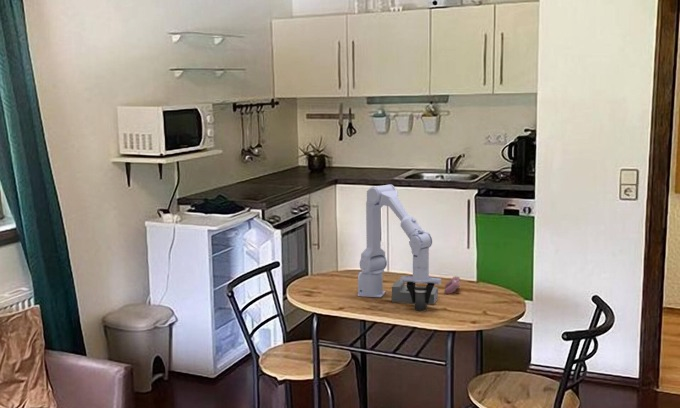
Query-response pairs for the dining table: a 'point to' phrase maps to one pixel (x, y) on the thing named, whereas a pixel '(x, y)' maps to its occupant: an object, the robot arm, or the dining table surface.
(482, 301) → the dining table surface
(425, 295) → the lens
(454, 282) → the pink rounded piece
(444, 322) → the dining table surface
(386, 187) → the robot arm
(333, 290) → the dining table surface
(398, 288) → the camera body
